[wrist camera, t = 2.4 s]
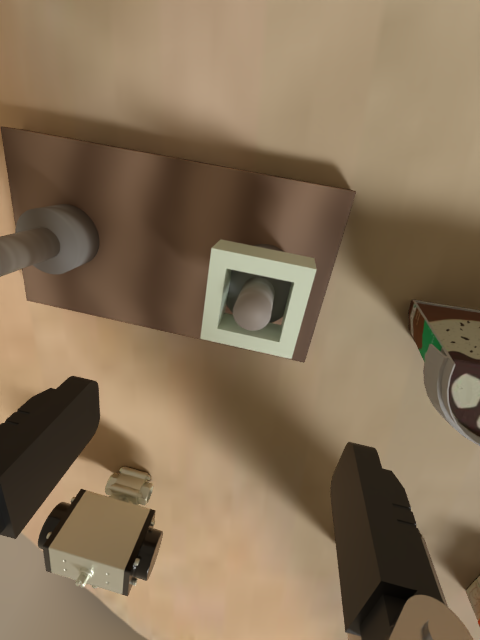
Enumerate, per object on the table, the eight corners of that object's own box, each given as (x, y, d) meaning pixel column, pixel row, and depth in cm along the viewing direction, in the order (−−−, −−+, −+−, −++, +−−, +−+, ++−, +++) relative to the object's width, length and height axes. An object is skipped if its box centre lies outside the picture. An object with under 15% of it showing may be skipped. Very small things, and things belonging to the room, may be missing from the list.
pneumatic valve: (92, 452, 40) (19, 554, 30) (181, 477, 40) (139, 591, 29) (93, 480, 43) (25, 584, 32) (176, 504, 42) (136, 618, 32)
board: (351, 190, 23) (400, 207, 12) (303, 350, 29) (308, 455, 19) (21, 129, 25) (-187, 98, 14) (42, 292, 31) (-92, 357, 20)
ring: (314, 257, 20) (316, 269, 18) (291, 340, 22) (291, 359, 20) (220, 239, 20) (211, 247, 18) (209, 322, 23) (200, 338, 21)
